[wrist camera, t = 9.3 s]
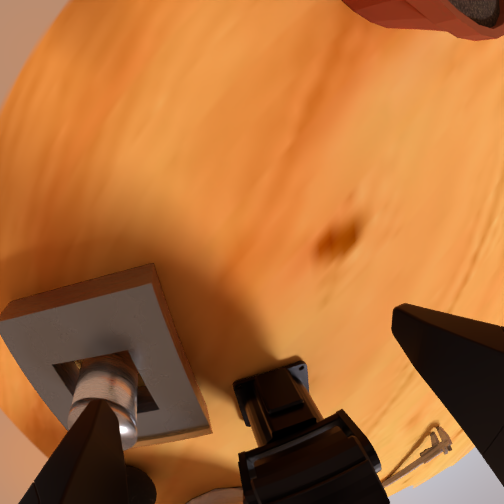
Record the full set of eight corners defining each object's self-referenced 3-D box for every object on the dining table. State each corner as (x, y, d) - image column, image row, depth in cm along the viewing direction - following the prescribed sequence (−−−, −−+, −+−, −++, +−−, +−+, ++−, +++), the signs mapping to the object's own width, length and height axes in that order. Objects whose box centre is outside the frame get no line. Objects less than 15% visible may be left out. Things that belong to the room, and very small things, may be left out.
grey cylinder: (147, 377, 22) (148, 447, 16) (99, 386, 21) (89, 453, 15) (126, 334, 20) (117, 405, 14) (74, 345, 20) (53, 412, 13)
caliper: (436, 425, 43) (454, 445, 37) (439, 424, 43) (457, 444, 37) (376, 486, 47) (388, 506, 42) (379, 485, 48) (392, 505, 42)
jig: (206, 405, 25) (212, 433, 22) (88, 425, 22) (84, 452, 19) (153, 262, 19) (151, 285, 16) (9, 301, 17) (-8, 325, 14)
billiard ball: (130, 452, 25) (132, 499, 20) (164, 474, 27) (169, 516, 22) (92, 462, 25) (89, 505, 19) (126, 483, 27) (128, 523, 22)
